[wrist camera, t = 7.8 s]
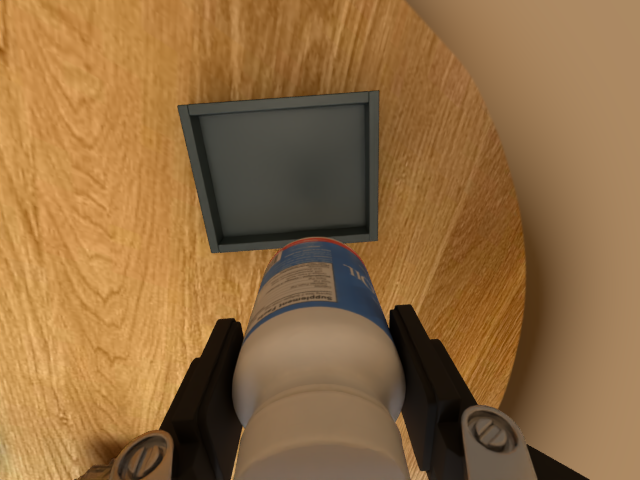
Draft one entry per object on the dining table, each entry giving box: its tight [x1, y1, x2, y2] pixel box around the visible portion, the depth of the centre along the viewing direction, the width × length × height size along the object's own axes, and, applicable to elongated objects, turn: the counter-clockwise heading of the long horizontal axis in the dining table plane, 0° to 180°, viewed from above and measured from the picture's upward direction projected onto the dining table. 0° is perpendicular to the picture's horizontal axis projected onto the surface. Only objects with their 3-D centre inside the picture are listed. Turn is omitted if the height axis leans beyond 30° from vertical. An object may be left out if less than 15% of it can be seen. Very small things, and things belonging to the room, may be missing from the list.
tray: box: [177, 91, 379, 253], centre depth 26 cm, size 16×13×3 cm
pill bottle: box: [232, 237, 410, 480], centre depth 11 cm, size 6×5×10 cm
